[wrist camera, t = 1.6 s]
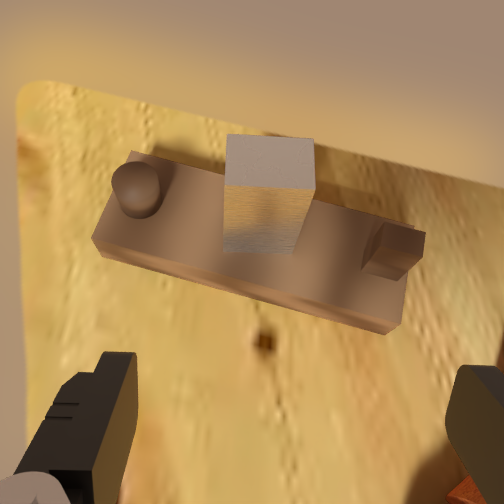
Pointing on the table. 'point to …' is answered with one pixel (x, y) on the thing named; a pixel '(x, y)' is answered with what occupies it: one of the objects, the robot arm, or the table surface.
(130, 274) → the table surface
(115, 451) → the robot arm
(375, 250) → the plane body
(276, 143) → the lever cap
